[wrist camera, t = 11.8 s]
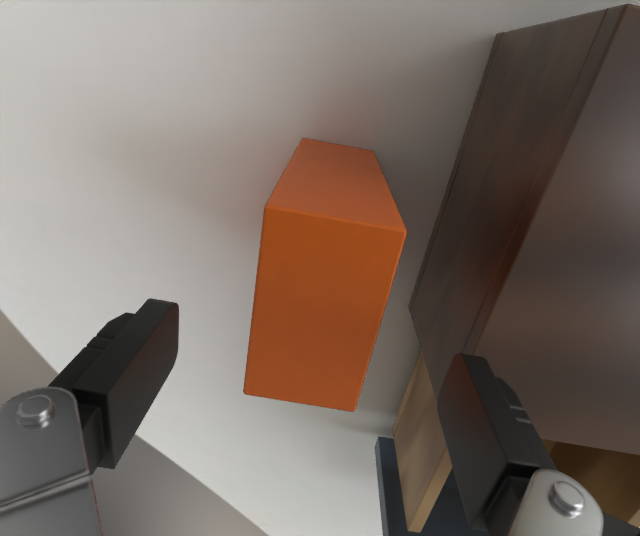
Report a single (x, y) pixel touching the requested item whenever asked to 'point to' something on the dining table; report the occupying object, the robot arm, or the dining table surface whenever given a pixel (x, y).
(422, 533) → the drawer
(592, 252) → the cabinet
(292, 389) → the orange rectangular prism
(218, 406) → the dining table surface
